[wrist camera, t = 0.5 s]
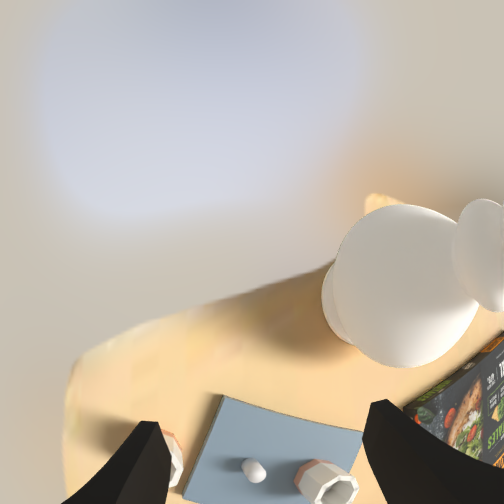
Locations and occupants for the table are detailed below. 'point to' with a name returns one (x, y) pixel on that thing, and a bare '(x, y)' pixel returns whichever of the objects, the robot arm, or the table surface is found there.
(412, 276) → the decorative vase
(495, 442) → the pizza box
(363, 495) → the table surface
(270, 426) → the pin board
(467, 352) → the table surface
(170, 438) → the sleeve
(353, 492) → the seated sleeve
